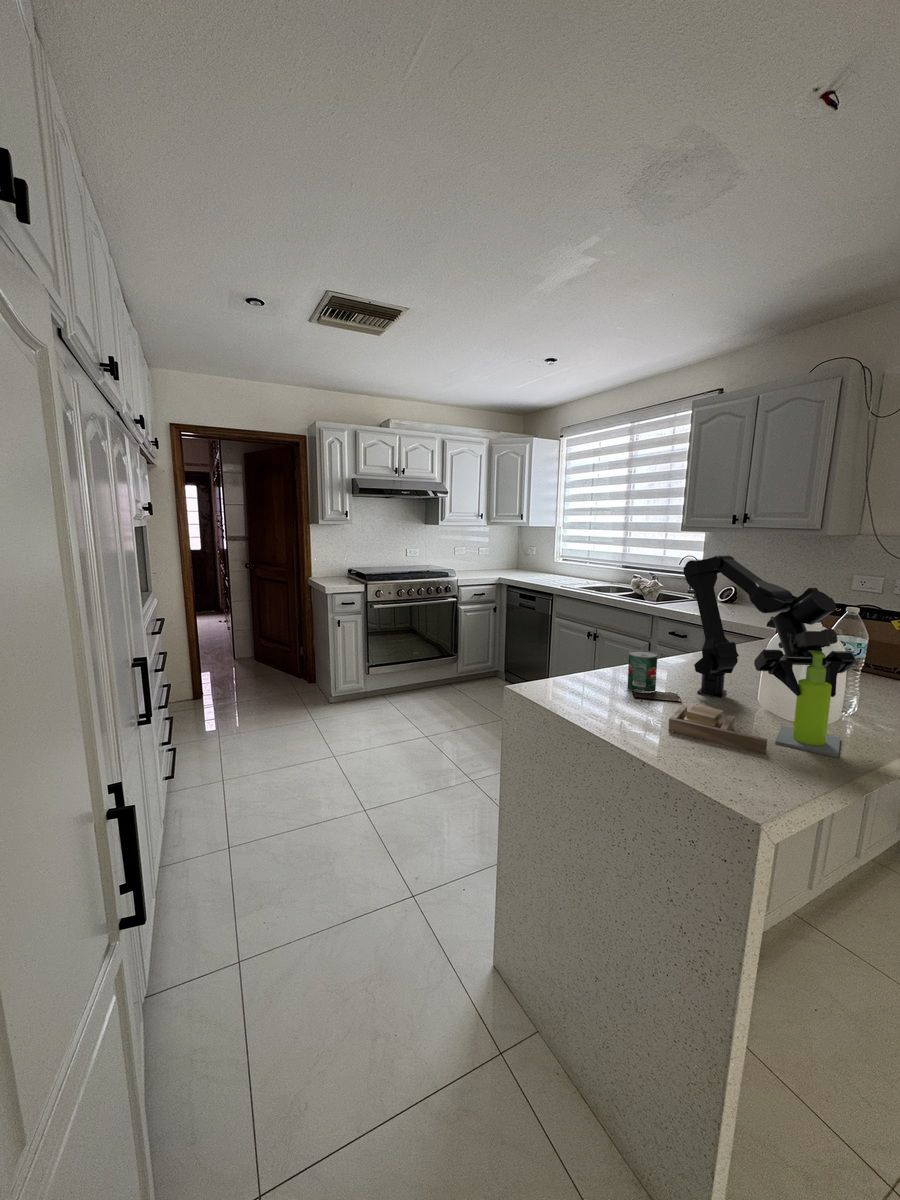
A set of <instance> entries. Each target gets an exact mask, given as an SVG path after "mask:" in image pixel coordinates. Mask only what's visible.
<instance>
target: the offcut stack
mask: <svg viewBox="0 0 900 1200" xmlns="http://www.w3.org/2000/svg"><path fill="white" fill-rule="evenodd" d="M723 717H724V710H722V709H719V708H714V707H710V706H706V705H701V704H695V705H694V706H692V707H691V708H689V709H687V714H686V717H685V718H684V720H685V721H690V722H694V723H699V724H703V725H707V726H712V727H716V728H721V726H722V725H723V721H722V720H721V719H722V718H723Z"/></svg>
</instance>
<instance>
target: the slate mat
mask: <svg viewBox="0 0 900 1200" xmlns="http://www.w3.org/2000/svg"><path fill="white" fill-rule="evenodd" d="M793 729H794V727H792V726H786V725H781V726H780V729H779V731H778V733H777V735H776V738H775V743H774V744H776V745H779V746H784V747H789V748H794V749H798V750H802V751H806V752H810V753H816V754H818V755H823V756H827V757H831V758H837V759H839V754H840V744H841V737H839V736H835V735H829V734H826V742H825V744H824V745H819V746H817V745H809V744H805V743H802V742H799V741H797V740H795V739H794V738H793Z"/></svg>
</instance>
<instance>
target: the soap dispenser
mask: <svg viewBox="0 0 900 1200" xmlns="http://www.w3.org/2000/svg"><path fill="white" fill-rule="evenodd" d="M807 651H808V652H810V653H811V654H812V655H813V661H812V665H806V666H807V667H806V675H805V678H803V679H799V680H798V681H797V683H798V685H799V688H800V692H801V694H800V695H799V696H796V702H795V711H794V721H793V728H794V729H793V738H794V739H795V740H797V741H799V742H802V743H805V744H809V745H817V746H819V745H824V744H825V742H826V735H827V732H828V723H829V714H830V708H831V707H830V705H831V698H832V697H831V690H832V685H831V684H829V683H827V682H825V677H826V668H824V667H823V666H822V660H823V658H825V657H826V656H827V655H826V654H825V653H824V652H823V650H822V651H819V650H807Z"/></svg>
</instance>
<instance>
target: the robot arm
mask: <svg viewBox="0 0 900 1200" xmlns="http://www.w3.org/2000/svg"><path fill="white" fill-rule="evenodd" d="M718 574H722V575H723V576H724V577H725V578H727V579H728V580H729V581H731V582H732V583H733V584H735V585H736V586H737V588H740V589H741V590H742V591H744V592H745V593H746V594H747V595H748V596H749V598H748V599H749V601H750V603H752V605H753V606H754V607H755V608H756V609H757V610H758V611H759V612H761V613H763V614H774V613H778V614H776V615H775V616H770V619H769V620H768V621H767V623H766V627H767V628H772V629H773V628H774V629H775V631H776V632H777V636H778V637H779V640H780V642H778V647H779V648H778V649H763V650H761V651H760V653H759V654H758V655H757V657H756V658H755V659H754V663H753V664H754V667H755V670H756V671H757V672H767V673H768V674H769V675H772V676H774V677H775V678H777V679H778V681H781V683H783V684H784V685H785V686H786V687H787V688H788V689H789V690H790V691H791V692H792V693H793V694H794V695H796V697H797V696H799V695H800V694H801V692H800V688H799V685H798V681H797V677H796V675H795V673H794V670H793V666H810V665H812V661H813V655H812V654H811V653H810V652H808V651H807V650H819V651H822V652H823V648H825V647H827V648H828V647H831V645H834V644H837V643H838V635H837V633H836V631H835V630H834V628H825V629H821V630H820V631H819V630H817V631H816V630H808V629H807V627H806V625H814V624H817V623H818V622H819V621H821V620H823V618H826V617H827V616H829V615H830V614H831V613H833V612H835V611H836V609H837V605H836V602H835V600H834V599H833V597H830V596H829V595H828V594H826V593H824V592H823V591H819V589H818V588H817V587H808V588H807V589H806V590H805V591H804V592H803V593H801V594H800V595H799V596H796V595H793V593H792V592H791V591H790V590H788V589H786V588H784V587H783V586H779V585H778V584H774V583H770V582H768V581H765V580H763V579H762V578H760V577H759V576H757V575H756V574H755V573H754V572H752V571H750V570H749V569H748V568H746V567H745V566H744V565H742V564H741V563H739V561H737V560H735V558H734V556H731V555H730V554H728V555H727V554H726V555H724V554H723V555H715V556H712V557H709V558H705V559H692V560H688V561H687V562H686V563H685V565H684V566H683V575H684V578H685V581H686V583H687V584H688V585H689V586H690V587H691V589H692V590H693V591H694V594H695V598H696V603H697V607H698V611H699V616H700V620H701V621H700V622H701V625H702V630H703V634H704V639H705V640H704V643H703V645H702V648H701V656H702V657H701V658H700V659H699V660H698V661H697V662H695V663H694V664H693V665H694V671H695V673H697V674H698V673H699V674H701V682H700V683H701V686H700V688H699V689H698V690H697V691H696V693H697V694H698V695H704V696H710V697H715V698H720V699H723V697H725V695H726V694H727V690H725V689H724V687H725V674H732V673H733V671H734V668H735V667H736V666H737V663H738V660H739V659H738V657H740V655H739V653H738V651H737V644H736V642H735V641H730V640H729V639H727V637H726V635H725V631H724V627H723V622H722V618H721V614H720V609H719V605H718V601H717V595H716V593H715V586H716V583H717V580H718ZM805 624H806V625H805ZM780 649H783V651H782V650H780ZM856 663H857V659H856V657H855V655H854V653H853V652H851V651H847V650H845V651H843V650H842V651H841V650H840V651H839V650H832V651H830V652H829V653H828V654H827V655H826V657H825V658H823V660H822V666H823V667H824V668H826V677H825V682H827V683H829V684H831V685H832V690H831V698H834V697H835V696H836V694H837V677H838V674H842V673H845V672H846V671H848V670H849V669H850V668H851V667H853V665H854V664H856Z"/></svg>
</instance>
